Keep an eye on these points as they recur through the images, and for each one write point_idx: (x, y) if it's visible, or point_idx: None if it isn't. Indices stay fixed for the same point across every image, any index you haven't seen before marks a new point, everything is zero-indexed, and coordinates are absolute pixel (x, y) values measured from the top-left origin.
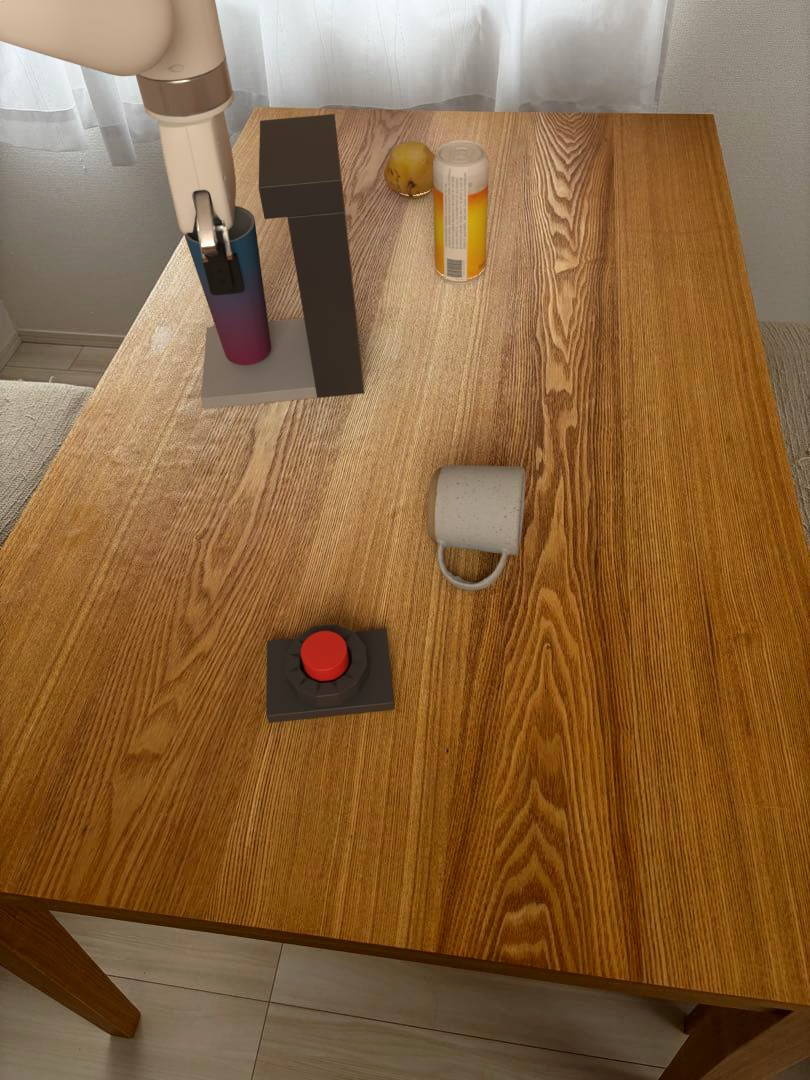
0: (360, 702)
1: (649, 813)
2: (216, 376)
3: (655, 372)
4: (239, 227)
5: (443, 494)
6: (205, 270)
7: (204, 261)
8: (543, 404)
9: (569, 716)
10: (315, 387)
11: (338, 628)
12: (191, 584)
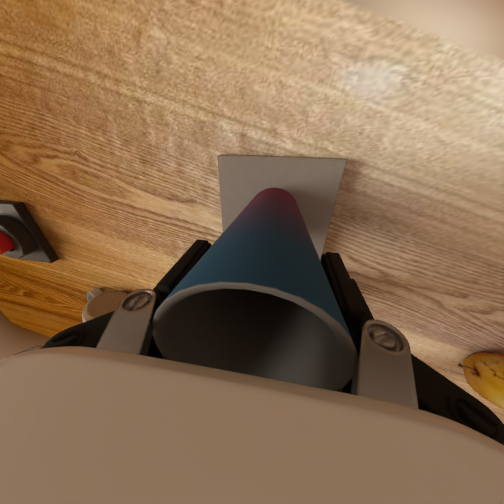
0: None
1: (36, 313)
2: (250, 173)
3: None
4: (308, 342)
5: (84, 321)
6: (173, 267)
7: (130, 295)
8: None
9: (56, 306)
10: None
11: (20, 248)
12: (37, 148)
